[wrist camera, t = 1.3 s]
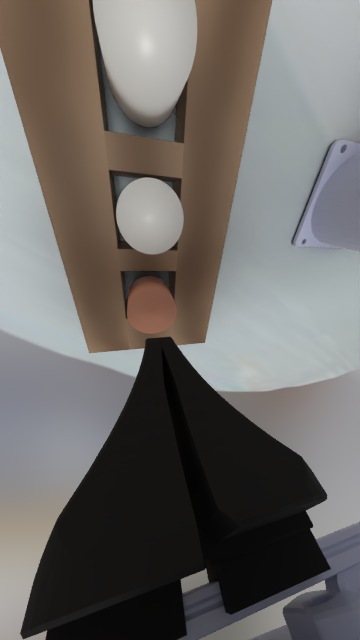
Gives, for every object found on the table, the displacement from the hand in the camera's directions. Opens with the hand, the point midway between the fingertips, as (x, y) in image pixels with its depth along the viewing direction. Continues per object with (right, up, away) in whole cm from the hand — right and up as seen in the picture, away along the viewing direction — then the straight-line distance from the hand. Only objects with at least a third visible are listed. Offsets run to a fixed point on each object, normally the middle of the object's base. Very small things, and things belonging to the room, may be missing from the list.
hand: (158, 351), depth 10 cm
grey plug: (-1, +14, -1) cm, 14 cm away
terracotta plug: (-1, +4, +6) cm, 7 cm away
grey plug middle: (-1, +9, +2) cm, 9 cm away
